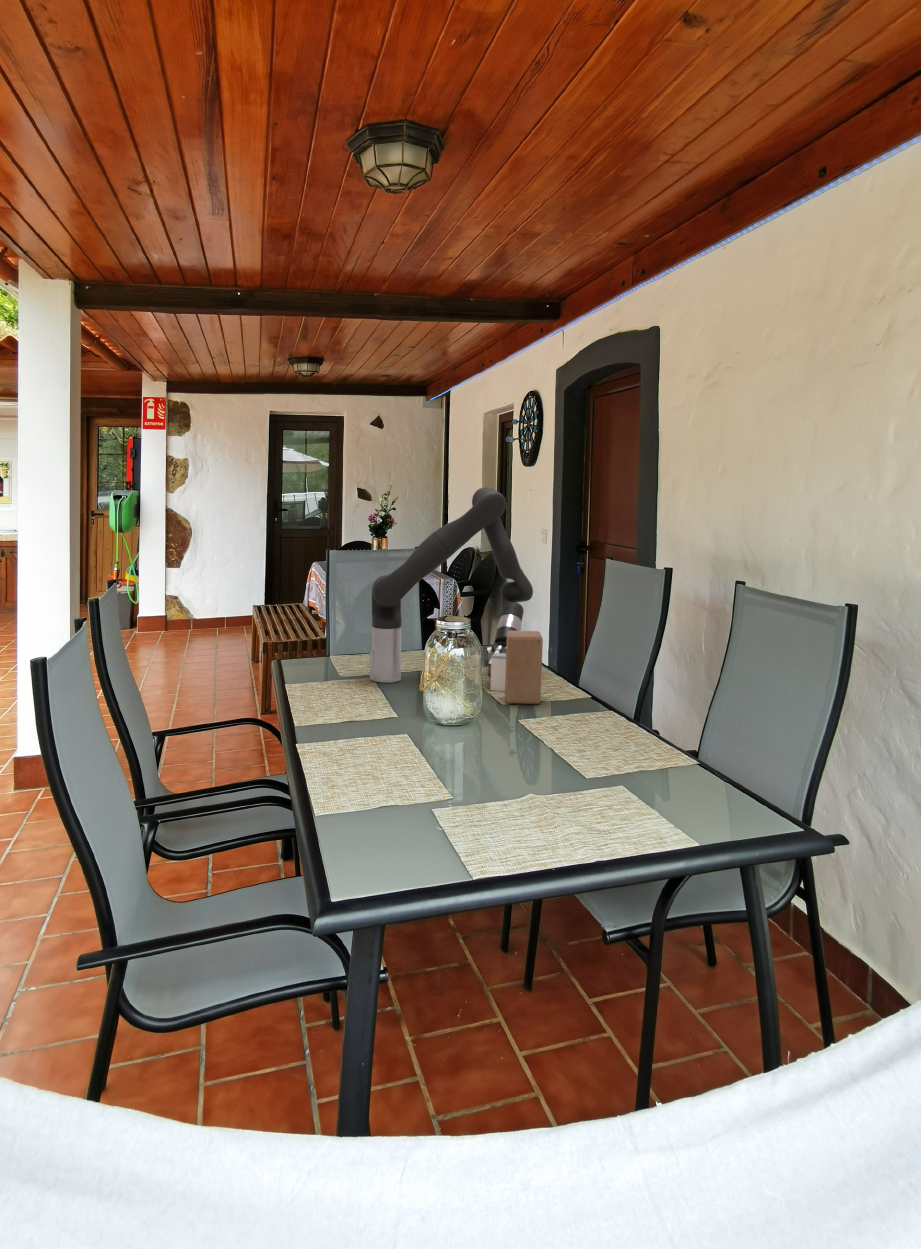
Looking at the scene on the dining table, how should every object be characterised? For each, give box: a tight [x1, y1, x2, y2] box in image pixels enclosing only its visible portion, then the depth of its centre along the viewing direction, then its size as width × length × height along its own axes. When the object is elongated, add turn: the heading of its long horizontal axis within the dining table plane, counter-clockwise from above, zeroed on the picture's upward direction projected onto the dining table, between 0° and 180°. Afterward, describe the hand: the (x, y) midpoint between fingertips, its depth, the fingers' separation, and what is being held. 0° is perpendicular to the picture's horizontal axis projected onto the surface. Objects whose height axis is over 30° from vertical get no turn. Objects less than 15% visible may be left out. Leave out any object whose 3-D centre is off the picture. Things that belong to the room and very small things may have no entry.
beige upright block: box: [490, 653, 506, 692], centre depth 251 cm, size 5×5×11 cm
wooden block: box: [504, 630, 544, 705], centre depth 237 cm, size 10×10×20 cm
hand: (499, 676), depth 249 cm, fingers closed on beige upright block, 5 cm apart
